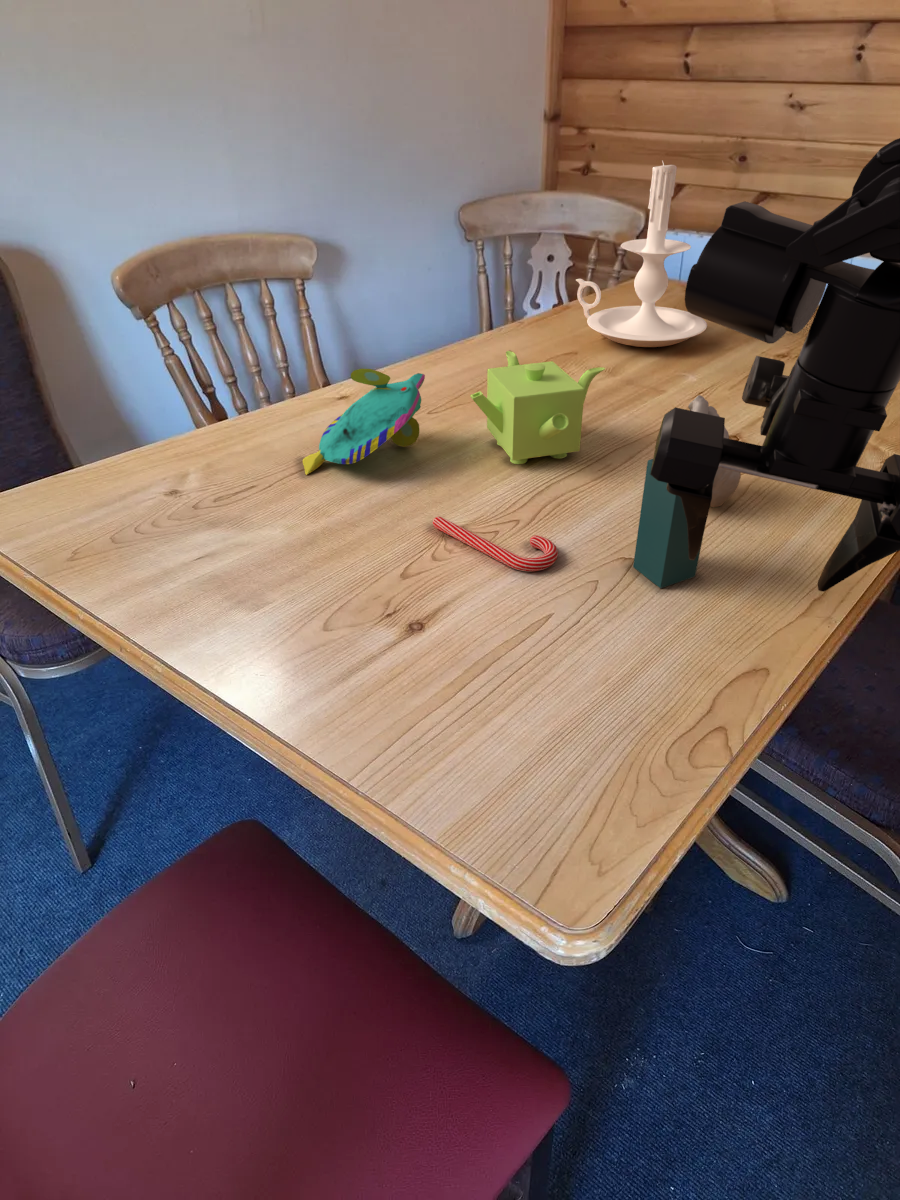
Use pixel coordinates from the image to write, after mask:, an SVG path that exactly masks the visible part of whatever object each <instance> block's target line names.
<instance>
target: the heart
mask: <svg viewBox="0 0 900 1200" xmlns="http://www.w3.org/2000/svg"><path fill="white" fill-rule="evenodd" d="M709 403H710V402H709V401H708V400H707V399H706V398H705V397H704V396H703V395H700V394H699V395H696V397H694V399H693V400H691V401H690V402H689V403H688V407H687V408H688V410H690V411H695V412H699V413H704V414H709V415H714V416H718V417H721V416H720V414H719V413H718V410H717V409H716V408H715V407H714V406H712V405H710V404H709ZM724 438H728V439H730V434H729V431H728V429H727V428H726V426H725V425H724ZM741 474H742V473H740V472H736V471H731V470H727V469H722V468H718V470H717V473H716V475H715V478H714V483H713V491H712V500H711V504H710V508H717V507H719V508H720V507H722V505H724V503H725V502H726V501H727V500H729V499H730V498H731V497H732V496H733V495H734V494H735V492H736V491H737V489H738V487H739V484H740V482H741V476H742V475H741Z"/></svg>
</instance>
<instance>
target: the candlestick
mask: <svg viewBox="0 0 900 1200" xmlns="http://www.w3.org/2000/svg"><path fill="white" fill-rule="evenodd" d="M661 162H662V164H661V165H657V166H656V165H655V166H653V167H652V170H651V171H652V174H651V182H650V188H649V198H648V199H649V200H648V206H647V209H648V210H649V217H648V224H647V225H648V226H647V228H648V229H647V235H646V238H640V239H639V238H638V239H631V240H627V241H624V242H622V243H621V244H620V247H621V248H622V249H623V250H625V251H628V252H631V253H634V254H636V255H639V256H641V257H642V259H643V260H642V261H643V263H642V266H641V267H640V269H639V270H638V272H637V273H636V275H635V277H634V281H633V286H634V291H635V294H636V296H637V297H638V299H639V300H640V301H641V305H623V306H622V305H621V306H615V307H609V308H605V309H601V310H598V311H595V312H594V313H592V314H590V311H591V309H593V308H595V307H597V306H598V305H599V303H600V302H601V300H602V292H601V288H600V286H599V285H598V284H597V283H595V281H590V280H589V281H588V280H587V281H586V280H584V279H583V278H577V279H575V282H577V283H578V284H579V286H578V288H577V293H576V295H577V296H576V298H577V300H578V303H579V304H580V305H581V307H582V309H583V315H584V317H585V319H587V320H586V324H587V325H588V327H589V328H591V330H593V331H595V332H597V333H599V334H601V336H603V337H604V338H606V339H608V340H610V341H612V342H615V343H618V344H622V345H624V346H625V345H626V346H632V347H641V348H657V347H658V348H660V347H661V348H663V347H668V346H672V345H677V344H679V343H683V342H684V341H687V340H689V339H690V338H692V337H697V336H698V335H700V334H702V333H704V332H705V331H706V330H707V328H708V323H707V320H706V319H703V318H701V317H698V316H696V315H693V314H691V313H689V312H688V311H687V310H683V309H678V308H672V307H668V306H667V307H666V306H659V305H658V306H657V305H656V302H657V301H659V300H660V299H661V298H662V297H663V296H664V295H665V293H666V291H667V290H668V286H669V275H668V273H667V271H666V268H665V260H666V259H667V258H668V257H670V256H672V255H676V254H681V253H684V252H686V251H690V249H692V246H691V244H689V243H687V242H685V241H682V240H681V241H680V240H675V239H667V238H666V237H667V236H666V235H667V232H668V230H669V220H670V213H671V204H672V198H673V197H674V194H675V187H676V179H677V172H678V171H677V169H678V167H677V165H675V164H667V165H666V164H665V163H664V160H661ZM586 287H591V288H592V289H593V290H594V292H595V294H596V295H595V300H594V302H592V303H588V302H587V301H586V300H584V298H583V291H584V289H585V288H586Z"/></svg>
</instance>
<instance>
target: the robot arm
mask: <svg viewBox="0 0 900 1200" xmlns="http://www.w3.org/2000/svg"><path fill="white" fill-rule="evenodd" d="M866 254H869V256H870V257H872V258H874V259H876V260H878V261H881V263H879V264H878V266H877V267H876V268H875V269H873V268H868V267H865V266H859V265H856V264H852V263H849V262H846V261H847V260H851V259H854V258H857V257H860V256H864V255H866ZM686 280H687V281H686V285H685V289H684V291H685V292H684V305H685V308H686V311H687V312H689V313H691V314H693V315H696V316H698V317H701V318H702V319H704V320H705V321H708V322H711V323H714V324H716V325H719V326H722V327H725V328H726V329H730V330H732V331H735V332H737V333H740V334H742V335H745V336H748V337H751V338H752V339H753V338H754V339H756V340H758V341H761V342H762V343H763V342H764V343H766V344H769V345H771V344H775V343H777V342H778V341H779V340H780V339H781V338H782V337H783V336H784V335H786V333H787V332H788V333H791V334H794V335H795V334H799V333H800V332H801V331H802V330H803V329H804V328H805V327H806V325H808V323H809V322H810V320H811V319H812V318H813V320H812V323H811V325H810V326H809V329H808V332H807V335H806V337H805V340H804V342H803V344H802V346H801V350H800V352H799V354H798V357H797V359H796V360H795V363H794V365H793V366H792V368H791V370H790V373H789V375H785V374H784V370H785V367H786V363H785V361H783V360H780V359H776V358H770V357H765V356H761V355H760V356H759V355H755V357H754V360H753V363H752V365H751V367H750V369H749V370H750V371H749V373H748V375H747V378H746V381H745V385H744V388H743V391H742V395H741V400H742V401H743V403H745V404H748V405H753V406H758V407H761V408H762V407H763V408H765V410H764V412H763V415H762V421H761V424H760V436H763V437H765V438H764V440H763V443H762V444H761V445H760V444H755V443H750V442H745V441H742V440H736V439H732V438H729V439H728V438H724V426H725V423H726V422H725V421H726V419H725V418H726V417H723V416H720V417H718V416H714V415H709V414H704V413H699V412H695V411H690V409H685V408H681V407H674V408H672V409H671V410H669V411H668V412H666V413H665V414H664V415H663V417H662V420H661V424H660V427H659V430H658V433H657V437H656V441H655V447H654V452H653V457H652V459H653V463H652V468H651V473H650V475H651V476H653V477H654V478H655V479H656V480H658V481H661V482H666V483H667V491H668V492H669V493H671V494H673V495H677V496H680V497H681V500H682V504H683V508H684V512H685V516H686V520H687V528H688V550H689V559H690V560H695V558H696V556H697V554H698V552H699V549H700V546H701V547H702V545H701V542H702V543H703V539H702V538H704V534H705V529H706V525H707V520H708V517H709V512H710V508H711V507H710V504H711V500H712V491H713V481H714V478H715V475H716V473H717V470H718V468H722V469H727V470H731V471H736V472H740V474H745V475H749V476H754V477H759V478H764V479H767V480H771V481H777V482H781V483H785V484H790V485H794V486H797V487H798V486H799V487H804V488H809V489H811V490H817V491H818V490H819V491H822V492H825V493H830V494H835V495H839V496H845V497H849V498H853V499H858V500H861V501H860V504H859V506H858V509H857V512H856V515H855V516H854V518H853V520H852V522H851V523H850V525H849V527H848V528H847V530H846V531H845V533H844V535H843V536H842V538H841V539H840V541H839V542H838V544H837V545H836V547H835V549H834V550H833V552H832V553H831V555H830V556H829V557H828V559H827V561H826V563H825V565H824V567H823V569H822V571H821V573H820V575H819V578H818V580H817V590H818V591H819V592H822V593H824V592H826V591H828V590H830V589H831V588H833V587H834V586H836V585H838V584H839V583H842V582H843V581H844V580H846V579H847V578H849V577H851V576H853V575H854V574H856V573H857V572H859V571H860V570H863V569H864V568H867V567H868V566H870V565H872V564H874V563H876V562H879V561H880V560H882V559H884V558H886V557H889V556H890V555H893V554H895V553H897V552H899V551H900V454H896V453H893V454H892V455H890V456H889V457H887V458H886V459H885V460H884V461H883V464H882V466H881V468H880V470H874V469H870V468H865V467H861V466H857V465H858V463H859V461H860V460H861V457H862V455H863V454H864V451H865V449H866V447H867V445H868V443H869V441H870V440H871V437H872V435H873V434H874V432H880V431H881V430H882V427H883V425H884V423H885V422H886V420H887V417H888V413H887V411H886V408H887V406H888V404H889V402H890V400H891V398H892V396H893V395H894V392H895V390H896V388H897V386H898V384H899V382H900V137H899V138H896V139H893V140H892V141H890V142H889V143H887V144H885V145H884V146H882V147H880V149H879V150H878V151H877V152H876V153H875V155H873V156H872V158H871V159H870V160H868V162H867V163H866V164H865V166H864V167H863V168H862V170H861V172H860V173H859V175H858V177H857V179H856V181H855V183H854V185H853V187H852V192H851V196H850V197H848V198H847V199H846V200H844V201H843V202H842V203H841V204H839V205H838V206H837V207H835V208H834V209H833V210H832V211H830V212H829V213H828V214H826V215H825V216H824V217H822V218H821V219H818V220H816V221H814V222H813V224H811V223H806V222H804V221H800V220H796V219H794V218H790V217H786V216H783V215H780V214H776V213H774V212H771V211H770V210H768V209H767V208H765V207H763V206H762V205H759V204H757V203H756V204H755V203H753V202H750V201H749V202H748V201H745V200H743V201H741V202H738V203H735V204H731V205H728V206H727V207H726V209H725V211H724V214H723V217H722V221H721V224H720V226H719V227H718V228H717V229H716V230H715V232H713V233H712V235H711V236H710V238H709V239H708V241H707V243H706V244H705V245H704V247H703V249H702V251H701V253H700V255H699V257H698V258H697V261H696V263H694V264H693V265H692V266H691V267H690V270H689V273H688V276H687V279H686ZM814 314H815V315H814ZM703 533H704V534H703Z"/></svg>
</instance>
